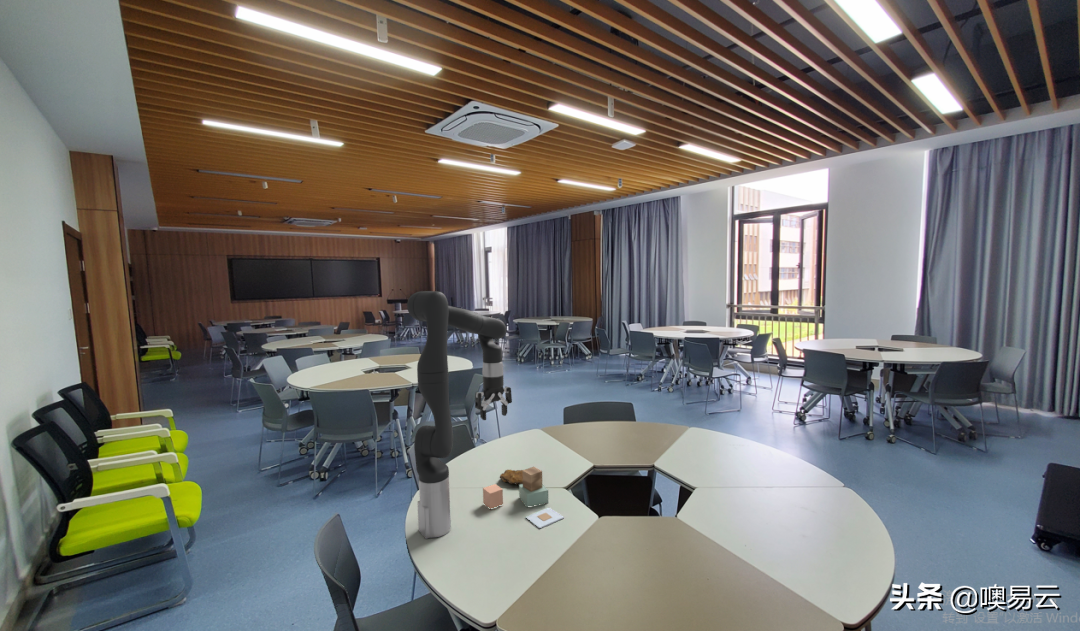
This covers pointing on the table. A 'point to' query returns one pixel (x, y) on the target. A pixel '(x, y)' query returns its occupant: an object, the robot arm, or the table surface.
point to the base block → (533, 496)
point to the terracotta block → (492, 496)
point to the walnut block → (532, 479)
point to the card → (544, 517)
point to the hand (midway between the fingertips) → (494, 417)
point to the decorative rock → (512, 476)
